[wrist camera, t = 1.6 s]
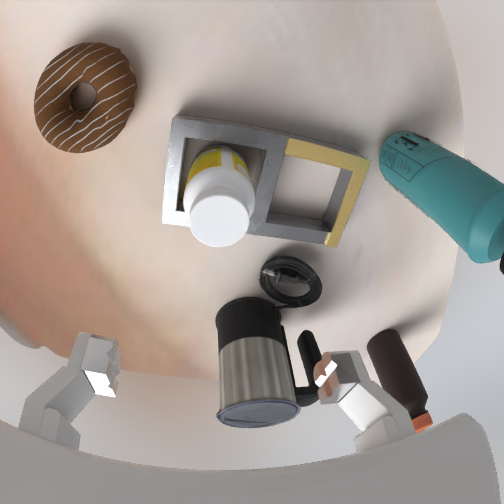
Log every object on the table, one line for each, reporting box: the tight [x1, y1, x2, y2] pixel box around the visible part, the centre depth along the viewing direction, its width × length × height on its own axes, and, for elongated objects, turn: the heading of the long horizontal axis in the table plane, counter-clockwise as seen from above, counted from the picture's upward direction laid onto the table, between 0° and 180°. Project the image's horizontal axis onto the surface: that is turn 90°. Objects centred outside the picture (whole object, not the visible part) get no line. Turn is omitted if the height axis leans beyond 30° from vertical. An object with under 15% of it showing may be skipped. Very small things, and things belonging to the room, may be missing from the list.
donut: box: [34, 42, 137, 153], centre depth 18 cm, size 11×11×4 cm
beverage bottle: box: [379, 131, 504, 274], centre depth 18 cm, size 6×7×20 cm
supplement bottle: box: [183, 145, 255, 247], centre depth 22 cm, size 5×5×10 cm
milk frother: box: [216, 256, 322, 428], centre depth 31 cm, size 14×16×15 cm
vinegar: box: [367, 330, 433, 433], centre depth 39 cm, size 7×7×20 cm
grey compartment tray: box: [162, 114, 371, 247], centre depth 26 cm, size 10×18×3 cm, turn 77°
